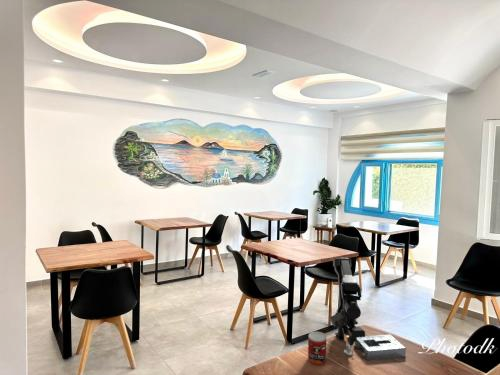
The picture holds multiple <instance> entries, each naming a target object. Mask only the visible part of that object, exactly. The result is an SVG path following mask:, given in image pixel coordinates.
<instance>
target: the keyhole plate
mask: <svg viewBox="0 0 500 375" xmlns="http://www.w3.org/2000/svg"><path fill="white" fill-rule="evenodd" d="M354 347H356V349H357V350H358V349H363V350H364V352H363V354H364V355H363V357H365V359H366V360H367V361H373V360H382V359H383V360H385V359H386V360H387V359H394V358H395V359H396V358H405V357H406V353H407V352H406V350H407V347H405V346H404V344H402V343H401V342H400V341H398V340H397V339H396V338H395V337H394V336H393V335H392V334H376V335H365V337H358V338H357V339H356V340H355V342H354Z"/></svg>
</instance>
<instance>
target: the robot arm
mask: <svg viewBox="0 0 500 375" xmlns="http://www.w3.org/2000/svg"><path fill="white" fill-rule="evenodd" d="M332 266H333V267H334V272H335V273H336V275H337V276H338V277H337V280H338V281H337V282H338V302H339V305H338V308H337V309H336V312H335V313H334V315H332V316H330V317H329V319H330V322H331V325H333V327H334V328H335V329H337V332H335V333H334V335H335V337H336V338H337V339H338V340H339V341H344V334H348V335H349V343H350V346H351V347H352V346H354V345H355V340H356V339H357V338H358V337H365V336H366V331H365V330H364V329H363V328H362V327H361V326H356V325H358V324H359V323H358V320H357V319H359V318H360V317H361V315H362V312H361V308H360V306H359V305H358V301H361V298H362V291H361V286H360V284H359V283H358V281H357V279H356V278H355V277H353V273H352V269H351V268H352V259H351V258H350V257H349V258H348V257H336V258H334V259H333V260H332Z"/></svg>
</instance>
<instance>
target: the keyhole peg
mask: <svg viewBox="0 0 500 375" xmlns="http://www.w3.org/2000/svg"><path fill="white" fill-rule="evenodd" d="M343 341H345V343H346V346H345V348H344V350H343V354H344V355H345V356H348V357H351V356H353V355H354V350H352V346H350V343H349V335H348V334H344V340H343Z"/></svg>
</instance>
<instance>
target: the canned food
mask: <svg viewBox="0 0 500 375" xmlns="http://www.w3.org/2000/svg"><path fill="white" fill-rule="evenodd" d="M307 338H308V339H307V340H308V341H307V360H308V362H309V363H310V364H312V365H315V366H322V365H324V364H325V363H326V362H327V361H326V360H327V335H326V334H325V333H323V332H321V331H311V332H309V333H308V337H307Z"/></svg>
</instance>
